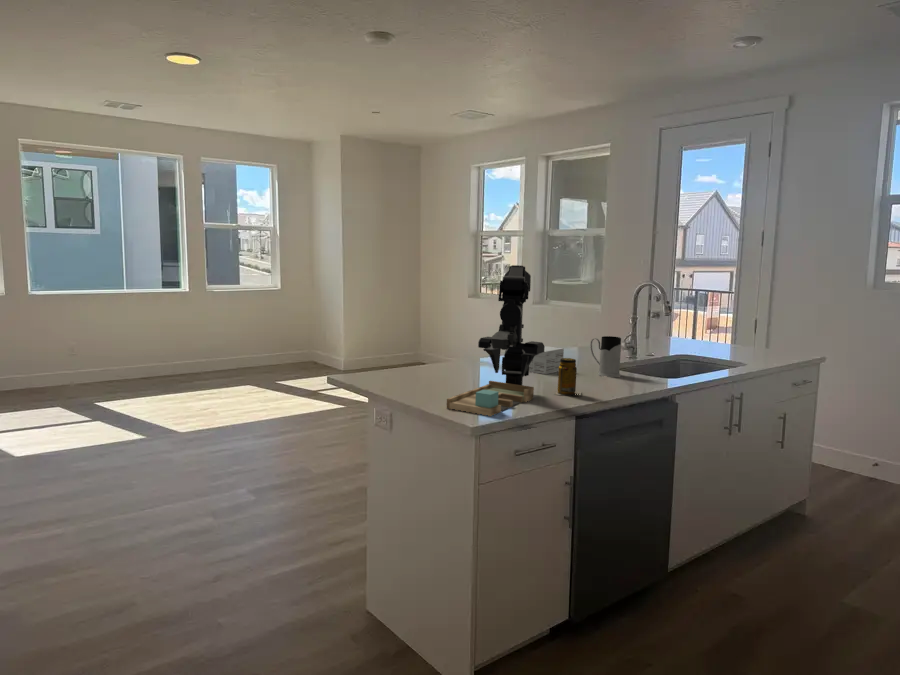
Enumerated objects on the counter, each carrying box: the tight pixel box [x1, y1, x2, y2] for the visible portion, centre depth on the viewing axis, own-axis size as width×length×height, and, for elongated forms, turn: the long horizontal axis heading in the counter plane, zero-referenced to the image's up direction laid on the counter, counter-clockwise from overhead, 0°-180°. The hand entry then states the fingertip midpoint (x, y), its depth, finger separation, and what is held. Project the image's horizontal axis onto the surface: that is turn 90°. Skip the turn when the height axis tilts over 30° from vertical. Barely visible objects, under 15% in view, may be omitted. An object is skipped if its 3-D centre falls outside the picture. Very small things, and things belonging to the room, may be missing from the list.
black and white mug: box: [590, 335, 622, 378], centre depth 255 cm, size 9×14×15 cm, turn 39°
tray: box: [446, 380, 535, 417], centre depth 200 cm, size 28×16×4 cm, turn 149°
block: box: [475, 390, 499, 408], centre depth 190 cm, size 5×5×4 cm
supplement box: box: [529, 345, 565, 375], centre depth 261 cm, size 17×13×9 cm
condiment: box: [554, 357, 581, 397], centre depth 217 cm, size 7×8×12 cm
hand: (509, 374), depth 185 cm, fingers open, 8 cm apart
